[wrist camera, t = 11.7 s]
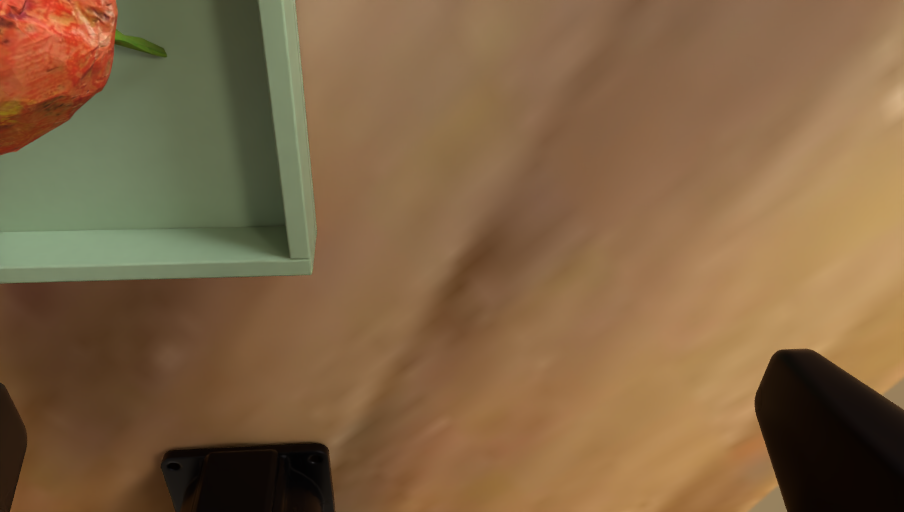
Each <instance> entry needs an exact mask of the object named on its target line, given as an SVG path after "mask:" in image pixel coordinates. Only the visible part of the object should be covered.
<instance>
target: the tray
mask: <svg viewBox="0 0 904 512" xmlns="http://www.w3.org/2000/svg"><path fill="white" fill-rule="evenodd" d="M116 4H117V9H118V17H117V25H116V29H117V30H118V31H120V32H121V33H122V34H124V35H128V36H135V37H141V38H143V39H145V40H147V41H149V42H152V43H154V44H156V45H158V46H160V47H162V48H164V50H165V52H166V54H167V57H166V58H165V57H160V56H156V55H152V54H148V53H145V52H141V51H137V50H134V49H130V48H127V47H123V46H120V45H116V44H114V57H113V64H112V69H111V73H110V76H109V79H108V81H107V84H106V85H105V87H104V88H103V90H102V91H101V92H98V93H97V94H95V95H94V96H93V97H92V98H91V99H90V100H88V101H87V102H86V103H85V104H84V105H83V106H82V107H81V108H79V109H78V110H77V111H76V112H75V113H74V115H73V116H72V117H71V119H70V120H68V121H66V122H65V123H63V124H62V125H60V126H58V127H57V128H55V129H53V130H51V131H50V132H48V133H46V134H44V135H43V136H41V137H40V138H38V139H36V140H34V141H33V142H31V143H29V144H28V145H26V146H24V147H23V148H21V149H20V150H18V151H17V152H10V153H6V154H3V155H1V156H0V283H36V282H73V281H109V280H146V279H183V278H220V277H257V276H293V275H311V274H312V271H313V262H314V253H315V244H316V236H317V225H316V215H315V204H314V194H313V183H312V173H311V162H310V152H309V141H308V131H307V120H306V110H305V99H304V89H303V78H302V68H301V57H300V47H299V36H298V26H297V15H296V5H295V0H116Z"/></svg>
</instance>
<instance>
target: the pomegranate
mask: <svg viewBox="0 0 904 512" xmlns="http://www.w3.org/2000/svg"><path fill="white" fill-rule="evenodd" d="M117 17H118V9H117V4H116V0H0V156H1V155H3V154H6V153H10V152H17V151H18V150H20V149H21V148H23V147H24V146H26V145H28V144H29V143H31V142H33V141H34V140H36V139H38V138H40V137H41V136H43V135H44V134H46V133H48V132H50V131H51V130H53V129H55V128H57V127H58V126H60V125H62V124H63V123H65V122H66V121H68V120H70V119H71V117H72V116H73V115H74V113H75V112H76V111H77V110H78V109H79V108H81V107H82V106H83V105H84V104H85V103H86V102H87V101H88V100H90V99H91V98H92V97H93V96H94V95H95V94H97V93H98V92H101V91H102V90H103V88H104V87H105V85H106V84H107V81H108V79H109V76H110V73H111V69H112V64H113V57H114V44H116V45H120V46H123V47H127V48H130V49H134V50H137V51H141V52H145V53H148V54H152V55H156V56H160V57H165V58H166V57H167V54H166V52H165V50H164V48H162V47H160V46H158V45H156V44H154V43H152V42H149V41H147V40H145V39H143V38H141V37H135V36H128V35H124V34H122V33H121V32H120V31H118V30H117V29H116V25H117Z"/></svg>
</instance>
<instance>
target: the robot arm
mask: <svg viewBox="0 0 904 512" xmlns="http://www.w3.org/2000/svg"><path fill="white" fill-rule="evenodd" d="M755 412H756V416H757V419H758V422H759V425H760V428H761V431H762V435H763V438H764V441H765V444H766V447H767V450H768V453H769V456H770V459H771V463H772V466H773V469H774V472H775V475H776V478H777V481H778V484H779V487H780V490H781V494H782V496H783V500H784V503H785V506H786V509H787V512H904V410H903V409H902V408H900V407H899V406H897V405H896V404H894V403H893V402H891V401H890V400H888V399H886V398H885V397H884V396H882V395H880V394H879V393H877V392H876V391H874V390H873V389H871V388H870V387H868V386H867V385H865V384H864V383H862V382H861V381H859V380H858V379H856V378H855V377H853V376H852V375H850V374H849V373H847V372H846V371H844V370H843V369H841V368H840V367H838V366H837V365H835V364H834V363H832V362H831V361H829V360H828V359H826V358H825V357H823V356H822V355H820V354H819V353H817V352H815V351H813V350H810V349H785V350H779V351H777V352H776V353H775V354H774V355H773V356H772V357H771V359H770V362H769V364H768V367H767V369H766V371H765V374H764V376H763V378H762V381H761V383H760V385H759V388H758V390H757V392H756V396H755ZM26 447H27V432H26V428H25V425H24V423H23V421H22V419H21V417H20V415H19V413H18V411H17V409H16V407H15V405H14V403H13V401H12V399H11V397H10V395H9V393H8V391H7V389H6V387H5V386H4V385H3V384H2V383H0V512H10V509H11V505H12V501H13V498H14V494H15V490H16V486H17V482H18V479H19V475H20V471H21V467H22V463H23V460H24V456H25V452H26ZM161 469H162V472H163V475H164V478H165V481H166V484H167V487H168V490H169V493H170V496H171V499H172V502H173V505H174V508H175V511H176V512H335V504H334V495H333V485H332V476H331V467H330V457H329V450H328V448H327V447H326V446H325V445H322V444H317V443H312V444H292V445H271V446H251V447H230V448H210V449H190V450H173V451H168V452H166V453H165V454H164V455H163V458H162V462H161Z"/></svg>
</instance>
